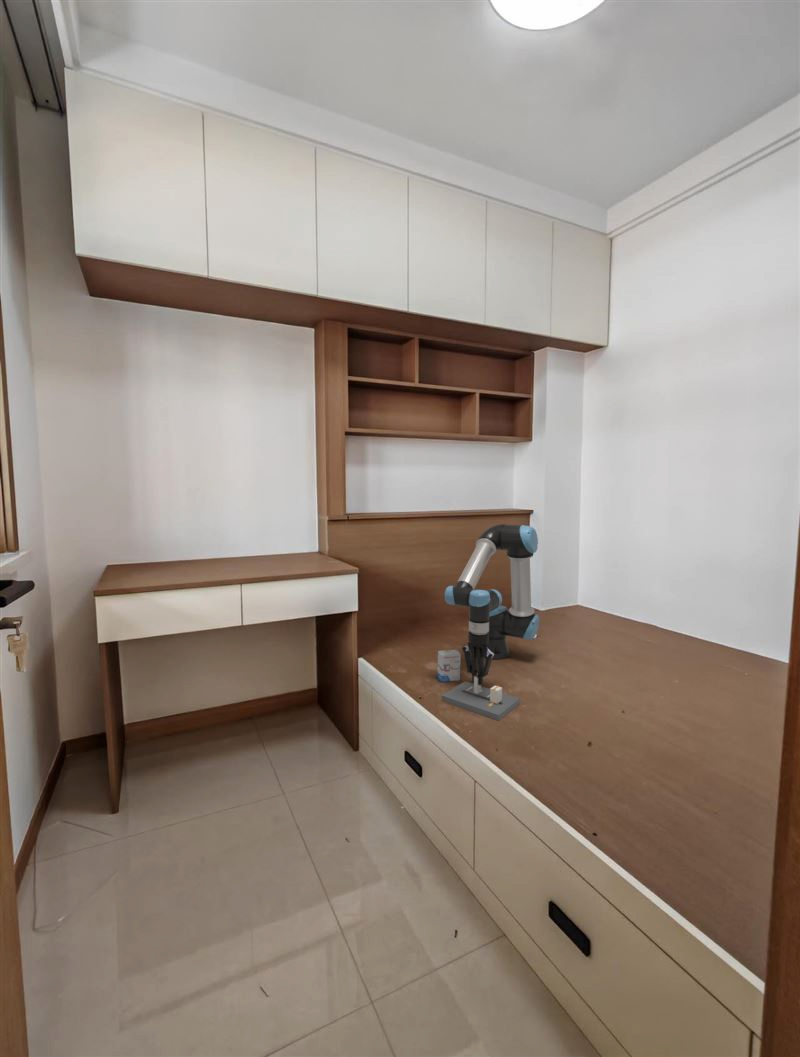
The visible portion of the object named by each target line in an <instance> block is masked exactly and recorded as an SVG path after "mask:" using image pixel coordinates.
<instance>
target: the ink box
mask: <svg viewBox="0 0 800 1057" xmlns="http://www.w3.org/2000/svg"><path fill="white" fill-rule="evenodd" d="M461 656H462V655H461V653H460V651H459V650H457V649H447V650H439V651H437V666H436V668H437V670H436V672H437V674H436V677H437V679H438V680H439V681H440V682H441V683H443V682H444V683H445V682H455V681H460V679H461V676H460V675H461Z"/></svg>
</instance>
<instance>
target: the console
mask: <svg viewBox="0 0 800 1057" xmlns="http://www.w3.org/2000/svg"><path fill="white" fill-rule="evenodd" d="M441 701H442V702H445V703H447V704H450V705H453V706H456V707H459V708H462V709H463V710H464V709H465V710H467V711H470V712H473V713H475V714H479V715H482V716H485V717H487V718H490V719H492V720H495V721H498V722H499V721H500V720H501V719H502V718H504V717H505V716H506V715H507V714H509V713H510V712H511V711H512V710H514V709H515V708H517V706H519V705H520V704H521V698H520V697H516V696H514V695H510V694H507V693H504V692H502V701H501V702H499V703H498V704H496V703H493V702H490V688H489V687H485V686H482V685H481V692H479V693H478V694H476V693H474V683H472V682H468V681H466V680H465V681H463V682H462V683H459V684H458V685H455V687H453V688H451V689H450V690H448V691H447V692H445V693H443V694H442V695H441Z"/></svg>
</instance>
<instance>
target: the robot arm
mask: <svg viewBox="0 0 800 1057" xmlns="http://www.w3.org/2000/svg"><path fill="white" fill-rule="evenodd" d="M538 538H539V537H538V534H537V531H536V529H535V528H534V527H533V526H530V525H524V524H523V525H522V524H503V523H499V524H495V525H493V526H491V527H489V528H487V529H485V531H483V532H482V533H481V534H480V536H479V537H477V540H476V542H475V549H474V550H473V552H472V554H471V556H470V557H469V559H468V562H467V563H466V565H465V566H464V569H463V571H462V573H461V575H460V576H459V578H458V580H457V582H456V583H455V585H448V586H447V587H446V588H445V590H444V591H445V592H444V600H445V602H446V604H448V605H452V606H458V607H465V608H468V609H469V611H468V616H469V617H468V643H467V644H466V645H464V646H461V647H462V648H461V649H462V651H463V653H464V659H465V665H466V669H467V671H466V672H467V673H468V674H469V673H470V674H471V683H472V684H474V693H476V694H478V693H479V692H481V686H482V685H483V683H484V678H485V677H486V676H488V675H489V672H490V667H491V664H492V662H493V660H503V659H506V658H508V657H509V655H510V649H509V645H508V643H507V637H511V638H512V637H513V638H518V639H523V640H533V639H534V638H535V637H536V635H537V632H538V629H539V626H540V624H539V623H540V616H539V615H538V614H535V613H536V611H535V608H533V607H532V595H531V594H532V588H531V586H532V585H531V583H532V582H531V559H532V558H533V557H534V554H535V553H536V552H537V550H538V548H539V547H538V545H539V539H538ZM500 550H501V551H506V557H508V558H509V559H510V583H511V585H510V586H511V589H510V590H511V592H510V593H511V607H510V608H509V609H508V607H507V606H504V605H502V602H503V596H502V594H501V593H500V591H498V590H497V589H492V588H491V589H487V590H486V589H485V590H483V589H476V586H477V584H478V582H479V580H480V578H481V576H482V574H483V572H484V570H485V568H486V566H487V565H488V563H489V561H490V558H491V557H492V556H493V555H494V554H496V552H497V551H500ZM506 636H507V637H506Z"/></svg>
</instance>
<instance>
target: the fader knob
mask: <svg viewBox="0 0 800 1057" xmlns="http://www.w3.org/2000/svg"><path fill="white" fill-rule="evenodd" d="M489 689H490V702H493V703H496V704H498V703H499V702H501V701H502V693H503V687H501V686H500V685H493V686H492V687H490V688H489Z"/></svg>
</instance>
